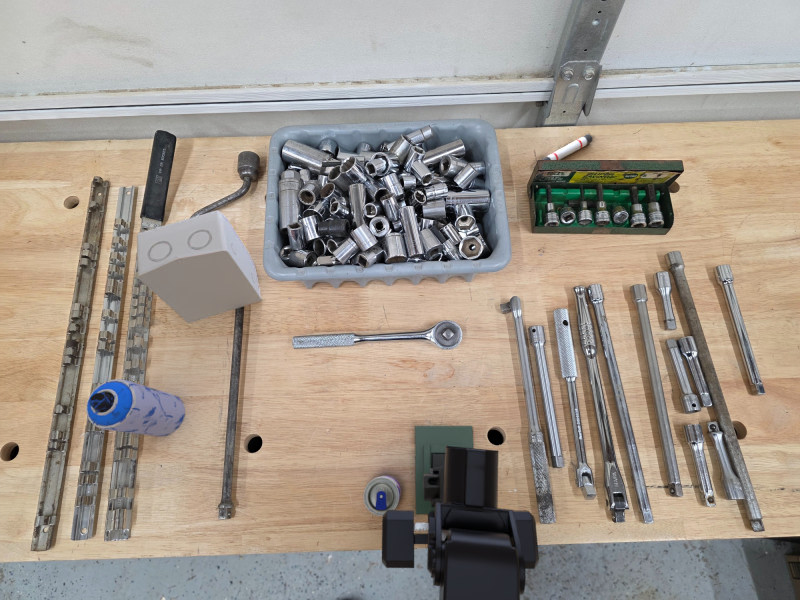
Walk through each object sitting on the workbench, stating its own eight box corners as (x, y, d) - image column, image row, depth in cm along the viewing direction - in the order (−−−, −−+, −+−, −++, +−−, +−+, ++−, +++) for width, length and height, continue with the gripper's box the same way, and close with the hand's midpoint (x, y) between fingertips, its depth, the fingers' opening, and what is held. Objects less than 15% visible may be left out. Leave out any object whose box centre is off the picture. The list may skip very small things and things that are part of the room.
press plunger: (459, 483, 74) (460, 483, 72) (432, 482, 74) (433, 483, 72) (458, 454, 76) (459, 454, 74) (432, 454, 76) (432, 454, 74)
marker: (584, 138, 102) (587, 132, 100) (590, 144, 101) (593, 138, 99) (529, 168, 99) (532, 162, 97) (535, 174, 99) (537, 169, 97)
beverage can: (401, 507, 76) (399, 516, 62) (371, 507, 76) (362, 516, 62) (401, 475, 78) (399, 477, 64) (372, 475, 78) (363, 476, 64)
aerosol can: (193, 394, 84) (130, 372, 65) (185, 438, 81) (118, 429, 62) (151, 393, 84) (76, 372, 65) (142, 438, 81) (62, 429, 62)
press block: (475, 513, 76) (478, 515, 72) (415, 513, 76) (416, 515, 72) (470, 426, 81) (473, 424, 77) (414, 426, 81) (415, 424, 77)
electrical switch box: (253, 246, 97) (213, 180, 79) (265, 304, 90) (223, 245, 72) (185, 266, 95) (129, 203, 78) (191, 326, 88) (131, 272, 71)
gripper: (544, 468, 51) (514, 468, 66) (379, 468, 52) (386, 468, 66) (555, 581, 47) (521, 554, 62) (378, 580, 48) (385, 554, 62)
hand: (452, 529), depth 63 cm, fingers closed
